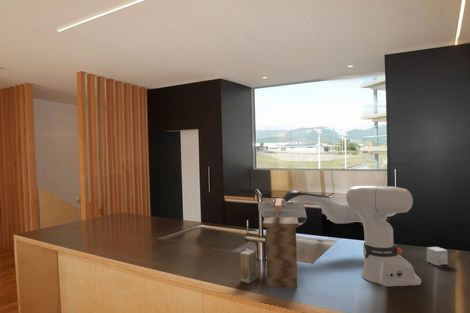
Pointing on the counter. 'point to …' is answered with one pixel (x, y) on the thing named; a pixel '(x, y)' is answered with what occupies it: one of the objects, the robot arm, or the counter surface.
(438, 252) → the skincare box
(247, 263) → the skincare box
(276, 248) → the pedestal
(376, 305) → the counter surface
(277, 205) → the bar
